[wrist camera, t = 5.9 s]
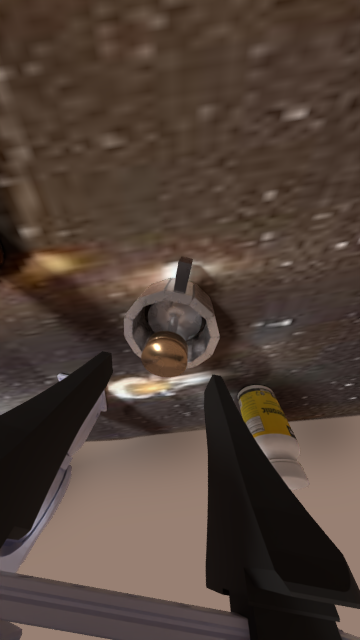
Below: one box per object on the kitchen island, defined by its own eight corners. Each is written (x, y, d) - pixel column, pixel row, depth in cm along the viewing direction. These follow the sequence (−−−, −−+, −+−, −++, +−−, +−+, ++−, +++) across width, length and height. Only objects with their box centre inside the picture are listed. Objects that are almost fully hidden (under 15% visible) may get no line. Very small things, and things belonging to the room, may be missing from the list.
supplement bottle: (281, 392, 22) (331, 487, 14) (254, 407, 25) (284, 494, 17) (254, 378, 21) (292, 471, 13) (229, 395, 24) (248, 482, 16)
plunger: (194, 343, 18) (193, 392, 13) (147, 333, 18) (125, 378, 13) (208, 300, 15) (215, 339, 10) (151, 287, 15) (124, 319, 9)
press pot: (201, 351, 20) (203, 376, 16) (137, 337, 19) (124, 359, 16) (233, 266, 14) (245, 277, 10) (141, 245, 14) (123, 249, 10)
